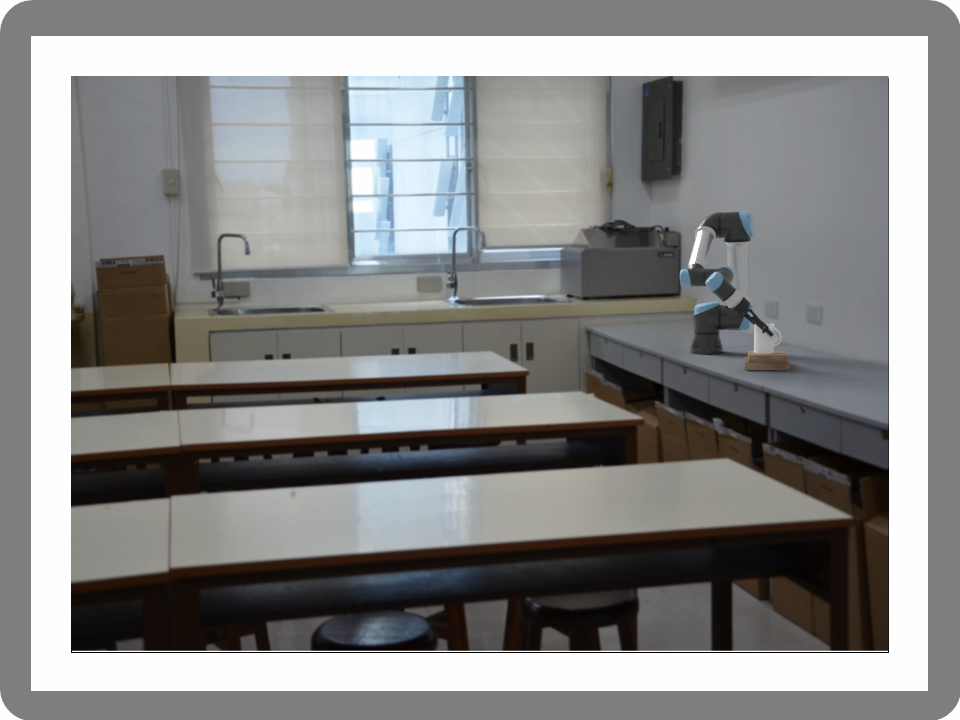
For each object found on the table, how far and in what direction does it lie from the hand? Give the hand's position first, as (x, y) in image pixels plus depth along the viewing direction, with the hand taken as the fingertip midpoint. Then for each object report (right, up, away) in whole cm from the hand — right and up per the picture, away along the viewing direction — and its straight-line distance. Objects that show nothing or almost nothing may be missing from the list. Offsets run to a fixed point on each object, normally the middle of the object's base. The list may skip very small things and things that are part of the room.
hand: (774, 339), depth 399 cm
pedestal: (-3, -12, +2) cm, 12 cm away
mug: (-3, -6, +1) cm, 7 cm away
